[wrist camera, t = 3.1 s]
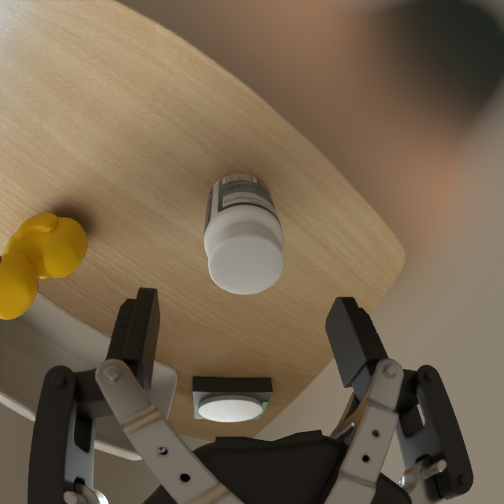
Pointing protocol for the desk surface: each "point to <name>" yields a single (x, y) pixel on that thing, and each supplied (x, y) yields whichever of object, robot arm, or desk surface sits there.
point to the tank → (72, 356)
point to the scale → (230, 398)
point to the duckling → (38, 259)
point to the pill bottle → (243, 235)
